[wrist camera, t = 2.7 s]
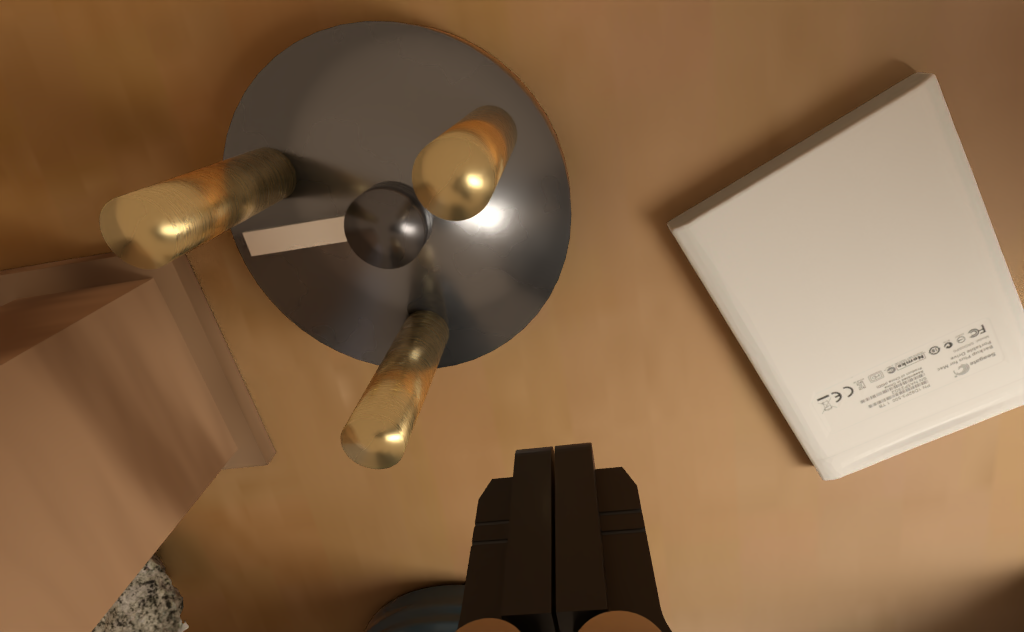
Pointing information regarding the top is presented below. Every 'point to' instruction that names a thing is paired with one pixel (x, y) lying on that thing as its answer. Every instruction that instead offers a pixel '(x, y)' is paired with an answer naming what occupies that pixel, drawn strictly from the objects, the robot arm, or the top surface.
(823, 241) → the external hard drive
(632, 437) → the top surface
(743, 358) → the top surface
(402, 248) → the three-bulb candle holder
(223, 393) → the brown angular box
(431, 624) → the canister
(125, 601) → the rock sample
